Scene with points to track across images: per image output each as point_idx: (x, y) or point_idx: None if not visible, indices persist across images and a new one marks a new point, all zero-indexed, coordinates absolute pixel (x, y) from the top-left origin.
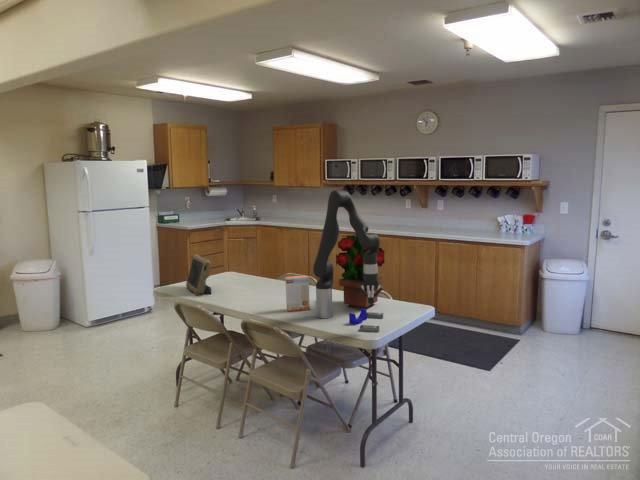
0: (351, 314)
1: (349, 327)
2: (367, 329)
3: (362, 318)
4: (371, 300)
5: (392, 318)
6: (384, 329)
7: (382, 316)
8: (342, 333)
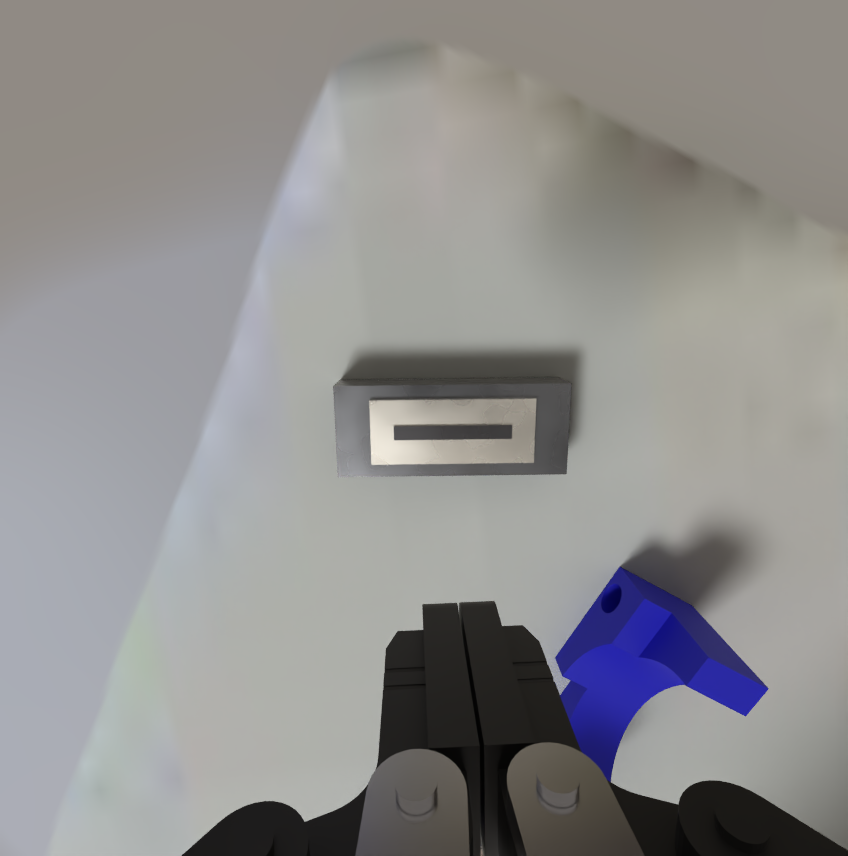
0: (731, 666)
1: (684, 480)
2: (472, 381)
3: None
4: (449, 669)
5: None
6: (290, 477)
7: None
8: (756, 256)
